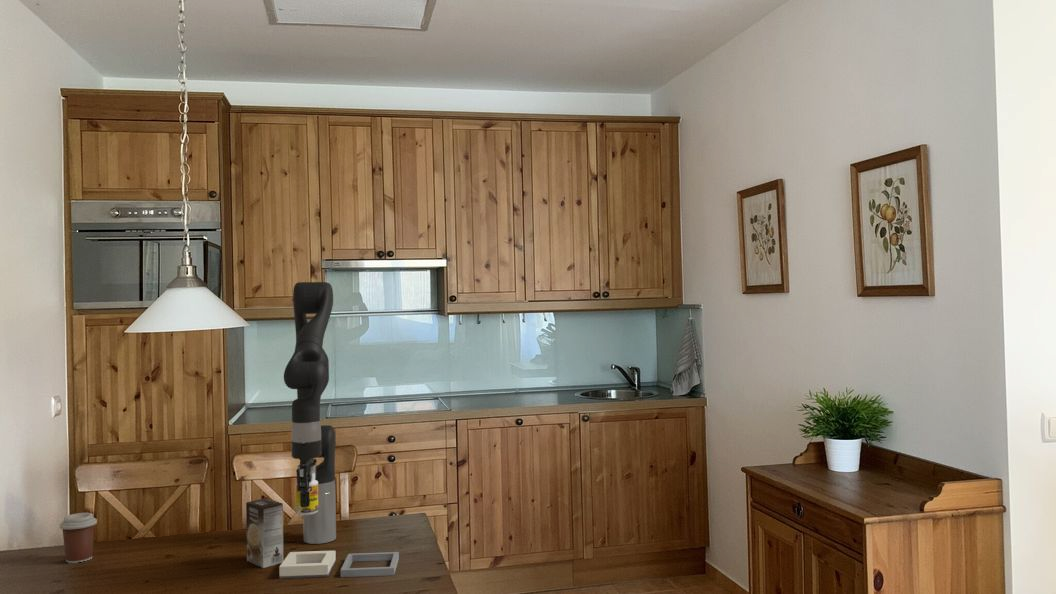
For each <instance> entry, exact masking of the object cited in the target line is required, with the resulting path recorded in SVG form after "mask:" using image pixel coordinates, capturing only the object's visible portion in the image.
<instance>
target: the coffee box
mask: <svg viewBox="0 0 1056 594" xmlns="http://www.w3.org/2000/svg"><path fill="white" fill-rule="evenodd" d="M245 504H246V505H245V509H246V512H245V514H246V515H245V517H246V518H245V520H246V524H245V525H246V562H248V561H249V563H251V564H253V565H255V566H257V567H259V566H260V568H261V569H262V568H263V569H265V568H268V567H273V566H276V565H281V564H282V562H283V561H284V503H282V502H280V501H276V500H274V499H271V498H268V497H264V498H260V499H255V500H251V501H247V502H246V503H245Z"/></svg>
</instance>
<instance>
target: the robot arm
mask: <svg viewBox="0 0 1056 594" xmlns="http://www.w3.org/2000/svg"><path fill="white" fill-rule="evenodd" d="M292 291H293V292H292V301H293V314H294V315H293V316H294V325H295V326H294V327H295V346H294V347H295V348H294V352H293V354H292V356H291V357H290V359H289V361H288V363H287V364H286V366H285V369H284V372H283V382H284V385H286V387H287V388H289V389H291V390H296V396H297V397H296V399H293V401H292V403H291V429H290V431H291V432H290V433H291V435H290V437H291V438H290V439H291V446H290V447H291V458H293V459H295V460H297V459H298V460H299V465H297V469H296V470H295V472H296V483H297V490H298V492H300V506H301V507H308V506H309V505H310V496H309V491H310V483H312V475H313V473H315V480H317V481H318V512H317V513H315V514H312V515H302V520H303V521H302V524H303V527H302V529H303V532H302V533H303V542H304V543H306V544H311V545H313V544H314V545H315V544H317V545H320V544H327V543H331V542H333V541H335V540H337V517H336V516H337V515H336V511H337V510H336V509H337V508H336V503H337V502H336V470H335V469H336V467H335V466H336V465H335V464H336V463H335V462H336V461H335V456H336V430H335V428H334V426H332V425H330V424H329V425H327V424H326V425H321V413H320V412H321V398H322V395H323V393H324V392H325V390H326V388H327V386H328V384H329V381H330V366H329V364H330V363H329V361H330V360H329V357H328V354H327V353H326V351H325V349H324V348H323V346H324V345H323V343H324V338H325V333H326V330H327V328H328V327H327V326H328V325H329V321H330V318H331V314H332V310H333V306H334V290H333V287H332V284H331V283H329V282H325V281H301V282H295V284H294V287H293V290H292ZM307 315H314V316H313V317H312V318H311V319H310V320H309V321H308V318H307ZM317 458H318V459H320V458H323V460H322V462H320V463H319V464H317V462H318V460H317ZM308 478H309V479H308ZM303 483H305V486H303V487H302V484H303Z"/></svg>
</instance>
